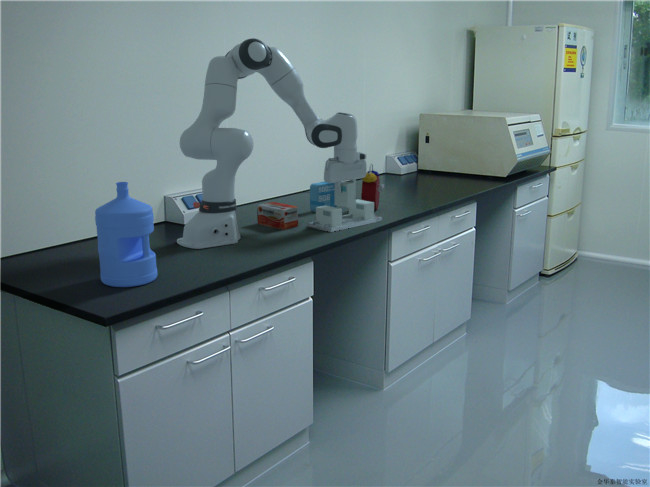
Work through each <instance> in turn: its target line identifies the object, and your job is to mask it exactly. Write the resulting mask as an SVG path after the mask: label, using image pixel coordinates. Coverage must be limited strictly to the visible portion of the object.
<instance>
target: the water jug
mask: <svg viewBox="0 0 650 487" xmlns="http://www.w3.org/2000/svg"><path fill="white" fill-rule="evenodd" d="M128 184H129V182H127V181H119V182H115V185H116V198H115V197H114V198H113V199H112V200H109V201H108V202H107V203H105V204H102V205H100V206H99V207H97V208H96V209H95V211H94V214H95V215H94V216H95V218H94V220H95V221H94V222H95V227H96V234H97V252H98V256H99V257H98V258H99V268H100V274H99V276H100V280H101V282H102V283H103V285H106V286H109V287H111V288H112V287H114V288H131V287H134V288H135V287H138V286H144V285H147V284H150V283H151V282H154V281H155V280H156V279H157V277H158V268H157V255H156V253H155V251H153V250H152V249H151V246H150V235H151V234H152V233H153V232H154V230H155V227H154V226H155V225H154V221H155V220H154V219H155V217H154V211H153V207H152V206H151V205H150V204H148V203H145V202H143V201H140V200H138V199H135V198H133V197H131V196H130V195H129V186H128Z"/></svg>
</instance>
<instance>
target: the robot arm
mask: <svg viewBox="0 0 650 487" xmlns="http://www.w3.org/2000/svg"><path fill="white" fill-rule="evenodd" d="M255 73H258V74H260V75H261V76H262V77H263V78H264V79H265V81H266V82H267V84H268V85H269V87H270V88H271V89H272V90H273V92H274V93H275V94H276V95H277V96H278V97H279V98H280V99H281V100H282V101H283V102H284V103H286V104H287V105H288V106H290V108H291V109H292V111H293V112H294V113H295V115H296V117H298V119H299V121H300V122H301V124H302V125H303V127H304V132H305V137H306V139H307V141H308V142H309V143H310V144H311V145H313V146H316V147H317V148H319V149H328V148H331V147H333V157H329V158H328V159H327V160H326V161H325V164H324V165H325V166H324V170H323V182H326V183H334V184H335V186H336V188H337V193H342V192H343V188H341V187H340V184H341V181H347V182H348V181H349V182H353V183H356V184H357V180H358V179H362V178H364V177H365V176H366V173H367V171H368V170H367V161H366V159H367V153H364V152H361V151H358V145H357V140H358V122H357V118H356V117H355V115H352V114H350V113H345V112H336V113H335V114H333V116H331V117H329V118H327V119H325V120H323V119H322V118H320V117H319V116H318V115H317V113H316V112H315V111H314V109H313V108H312V106H311V105H310V103H309V102H308V100H307V99H306V96H305V92H304V90H305V89H304V83H303V80H302V79H301V77H300V74H299V73H298V71H297V69H296V67H294V65H293V64H292V63H291V61H290V59H289V58H287V56H286V55H285V54H284V53H283V52H282V51H281V50H280V49H279V48H278V47H275V46H272V47H270V46H268V45H267V44H266V43H265V42H263V41H262V40H260V39H258V38H254V37H253V38H248V39H245V40H244V41H242V42H240V43H238V44H236V45H235V46H234V47H233V48H231V49H230V50H229V51H228V52H227V53H226V54H225V55H218V56H214V57H213V58H211V60H210V61H209V63H208V67H207V70H206V74H205V79H204V80H205V81H204V91H203V97H202V98H203V100H202V106H201V109H200V112H199V114H198V116H197V118H196V119H195V121H194V122H193V123H192V124H191V125H190V126H189V127H188V128H186V129H185V130H184V131H183V132H182V133H181V135H180V137H179V148H180V150H181V153H182V154H183V155H184V156H185V157H186V158H191V159H194V160H203V161H205V160H206V161H216V166H215V168H214V169H211V170H210V171H207V172H206V173H205V174H204V175H203V177H202V180H201V187H202V188H201V191H202V192H201V193H202V200H201V201H200V202H198V201H193V202H192V203H193V204H192V205H193V208H196V209H198V212H197V213H195V214H194V216H193V217H192V218H191V219H189V221H187V222H186V223H185V225H184V227H183V231H182V237H180V238H177V239H176V243H177V244H178V245H179V246H180V247H181V246H182V247H185V248H189V249H196V250H197V249H198V250H200V249H206V248H213V247H221V246H226V245H227V246H228V245H233V244H238V243H239V240H240V239H241V234H240V230H239V228H238V220H237V216H236V215H237V214H236V213H237V199H236V198H235V195H236V194H235V183H236V182H235V181H236V175H237V172H238V169H239V167H240V166H241V164H243V163H244V162H245V160H247V159H248V158H249V157H250V156H251V154H252V153H253V150H254V139H253V137H252V135H251V134H250V132H249V131H248V130H245V129H242V128H235V127H220V125H221V124H222V123H223V122H224V121H225V120H227V119H229V118H231V117H232V116H233V115H234V113H235V111H236V105H237V95H238V94H237V93H238V92H237V91H238V80H241V79H242V80H243V79H245V78H247V77H249V76H251V75H253V74H255Z"/></svg>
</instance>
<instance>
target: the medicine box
mask: <svg viewBox="0 0 650 487" xmlns="http://www.w3.org/2000/svg"><path fill="white" fill-rule="evenodd" d="M256 207H257V208H256V211H257V212H256V214H257V215H256V217H257V218H256V219H257V225H260V226H265V227H269V228H274V229H277V230H278V229H279V230H283V231H285V230H288V229H293V228H296V227H297V228H298V226H299V210H298V209H299V206H297V205H292V204H286V203H281V202H276V201H270V202H265V203H260V204H257V206H256Z"/></svg>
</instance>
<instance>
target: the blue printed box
mask: <svg viewBox="0 0 650 487" xmlns="http://www.w3.org/2000/svg"><path fill="white" fill-rule="evenodd" d="M325 205H326V206H330V207H335V208H338V206H336V205H335V184H334V183H326V182H325V181H320V182H313V183H311V184H310V186H309V210H310V211H311V212H313V213H316V207H320V206H325Z"/></svg>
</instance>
